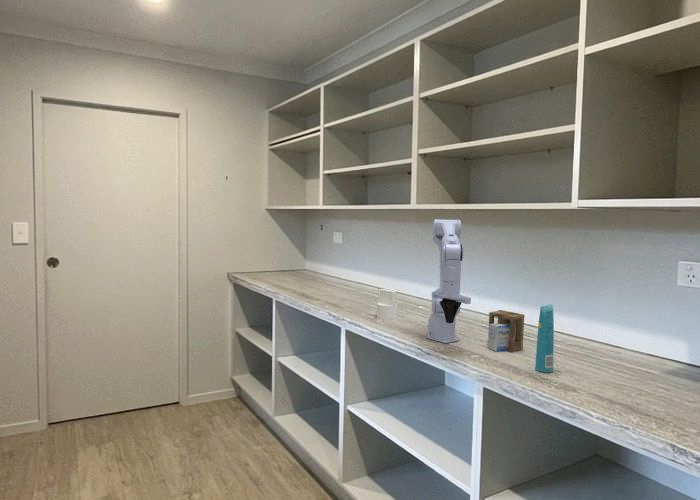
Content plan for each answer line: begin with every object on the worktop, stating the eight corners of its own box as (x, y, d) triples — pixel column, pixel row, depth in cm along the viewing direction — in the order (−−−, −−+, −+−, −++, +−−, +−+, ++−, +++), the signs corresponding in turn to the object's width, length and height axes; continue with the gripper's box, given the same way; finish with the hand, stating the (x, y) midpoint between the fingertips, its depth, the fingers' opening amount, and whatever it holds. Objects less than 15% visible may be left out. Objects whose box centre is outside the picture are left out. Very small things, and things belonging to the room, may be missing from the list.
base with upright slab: (401, 318, 212) (402, 290, 211) (386, 320, 206) (387, 292, 206) (387, 314, 219) (388, 288, 218) (372, 317, 213) (373, 289, 212)
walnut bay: (487, 346, 168) (489, 311, 168) (498, 343, 172) (500, 309, 172) (511, 352, 161) (513, 316, 160) (522, 349, 165) (524, 314, 164)
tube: (540, 365, 147) (543, 302, 146) (556, 369, 144) (560, 304, 143) (530, 371, 141) (534, 305, 140) (547, 375, 138) (551, 308, 137)
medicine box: (496, 352, 162) (497, 326, 161) (487, 348, 166) (488, 323, 165) (515, 350, 164) (516, 324, 164) (506, 346, 169) (507, 321, 168)
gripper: (425, 279, 161) (424, 320, 162) (461, 284, 149) (459, 328, 150) (440, 277, 165) (438, 317, 166) (475, 283, 154) (473, 325, 155)
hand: (449, 322), depth 158 cm, fingers closed
